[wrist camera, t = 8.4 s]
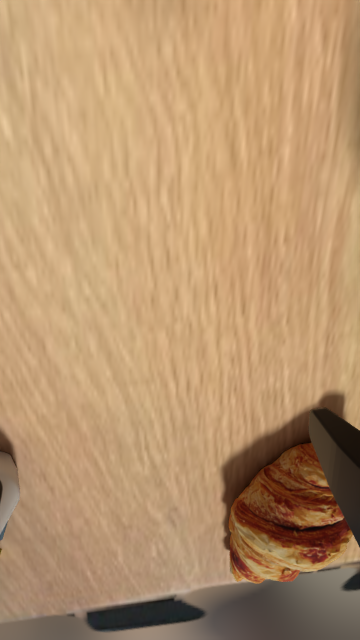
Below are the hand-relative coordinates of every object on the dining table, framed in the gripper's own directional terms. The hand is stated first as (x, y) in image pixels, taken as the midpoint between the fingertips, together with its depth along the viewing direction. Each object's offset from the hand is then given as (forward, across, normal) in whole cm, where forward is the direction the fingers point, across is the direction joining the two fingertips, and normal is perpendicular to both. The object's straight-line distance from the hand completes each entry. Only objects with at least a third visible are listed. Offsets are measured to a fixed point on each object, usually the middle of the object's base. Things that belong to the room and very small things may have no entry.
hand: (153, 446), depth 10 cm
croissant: (+13, -8, +24) cm, 28 cm away
